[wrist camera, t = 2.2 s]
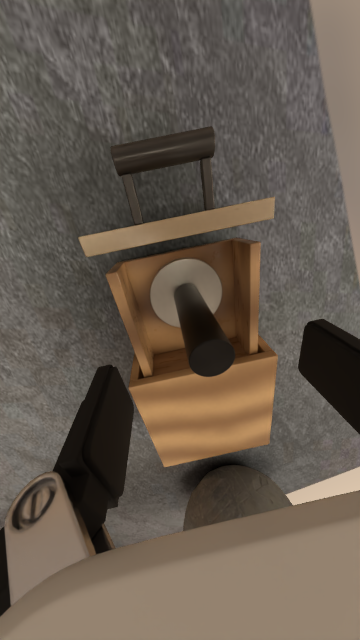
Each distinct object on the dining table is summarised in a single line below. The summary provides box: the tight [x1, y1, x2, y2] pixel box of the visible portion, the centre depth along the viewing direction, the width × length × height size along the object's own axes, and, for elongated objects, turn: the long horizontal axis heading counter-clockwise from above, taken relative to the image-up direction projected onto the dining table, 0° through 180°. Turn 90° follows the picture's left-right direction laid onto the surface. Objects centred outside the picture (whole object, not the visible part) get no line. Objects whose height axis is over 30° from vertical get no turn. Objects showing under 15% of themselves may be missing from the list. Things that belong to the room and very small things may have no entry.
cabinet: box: [129, 335, 278, 467], centre depth 23 cm, size 15×14×7 cm
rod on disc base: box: [150, 258, 235, 377], centre depth 13 cm, size 7×7×10 cm
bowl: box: [183, 465, 293, 531], centre depth 34 cm, size 21×21×15 cm
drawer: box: [78, 126, 275, 378], centre depth 16 cm, size 18×12×5 cm
